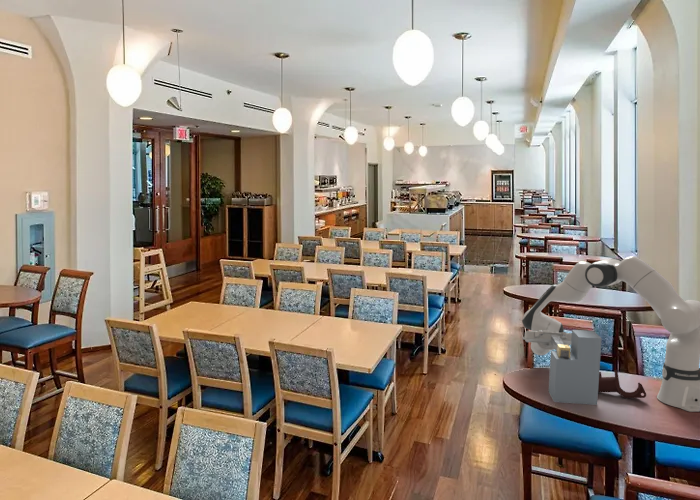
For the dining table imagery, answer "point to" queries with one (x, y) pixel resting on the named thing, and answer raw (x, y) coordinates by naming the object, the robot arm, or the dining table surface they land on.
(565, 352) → the bar
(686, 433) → the dining table surface
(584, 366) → the stepped stand
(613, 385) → the bracket
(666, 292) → the robot arm
